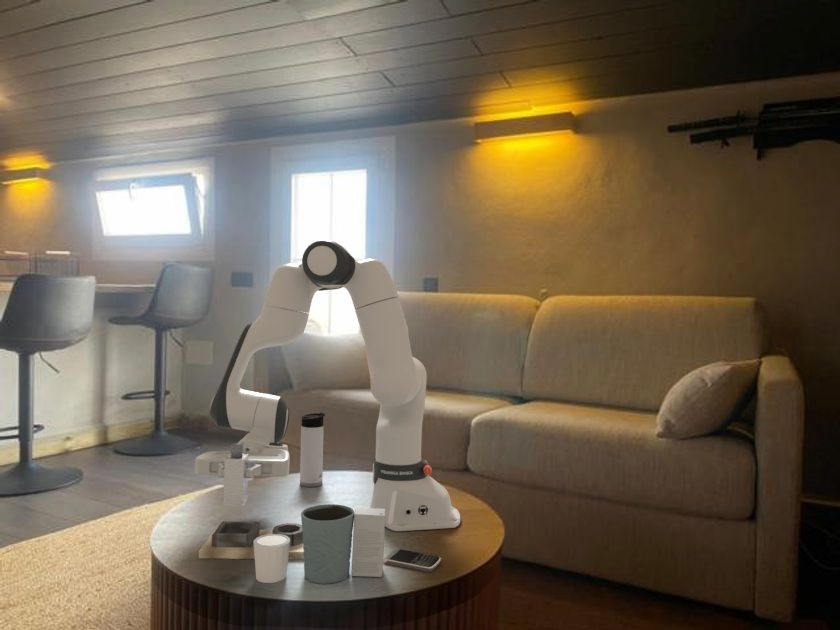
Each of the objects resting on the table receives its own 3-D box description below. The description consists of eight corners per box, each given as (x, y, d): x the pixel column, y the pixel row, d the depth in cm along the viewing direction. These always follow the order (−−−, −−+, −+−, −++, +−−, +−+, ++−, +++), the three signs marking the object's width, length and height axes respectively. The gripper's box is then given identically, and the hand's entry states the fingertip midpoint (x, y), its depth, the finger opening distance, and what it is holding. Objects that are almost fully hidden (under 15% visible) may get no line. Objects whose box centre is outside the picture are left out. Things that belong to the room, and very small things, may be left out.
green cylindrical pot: (295, 584, 118) (296, 520, 118) (306, 562, 128) (306, 502, 128) (350, 585, 118) (351, 521, 118) (356, 563, 128) (357, 503, 128)
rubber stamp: (247, 500, 137) (249, 442, 137) (242, 506, 133) (244, 447, 133) (228, 500, 137) (230, 442, 137) (223, 506, 133) (225, 446, 133)
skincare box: (382, 568, 126) (386, 508, 126) (382, 577, 122) (386, 515, 122) (351, 567, 126) (355, 506, 126) (350, 576, 122) (354, 514, 122)
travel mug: (326, 485, 180) (328, 414, 180) (304, 488, 177) (305, 416, 177) (318, 479, 186) (320, 411, 185) (296, 482, 183) (298, 412, 182)
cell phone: (432, 575, 125) (432, 568, 125) (380, 565, 129) (381, 558, 129) (442, 563, 131) (443, 556, 131) (393, 554, 135) (393, 547, 135)
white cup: (256, 568, 125) (256, 533, 125) (291, 568, 125) (292, 533, 125) (249, 584, 118) (249, 547, 118) (287, 584, 118) (287, 546, 118)
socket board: (315, 537, 142) (316, 519, 142) (308, 559, 130) (309, 539, 130) (215, 536, 141) (215, 518, 141) (198, 558, 129) (198, 538, 129)
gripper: (205, 442, 147) (185, 457, 133) (294, 445, 148) (284, 460, 134) (204, 469, 147) (184, 487, 134) (293, 472, 148) (283, 490, 134)
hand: (235, 474), depth 134 cm, fingers closed on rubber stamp, 4 cm apart
